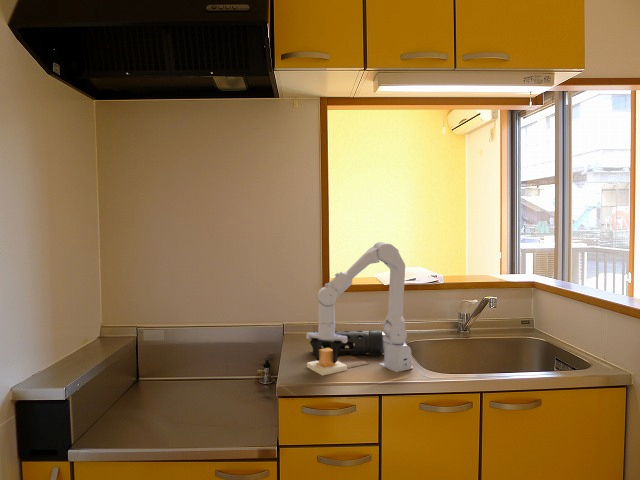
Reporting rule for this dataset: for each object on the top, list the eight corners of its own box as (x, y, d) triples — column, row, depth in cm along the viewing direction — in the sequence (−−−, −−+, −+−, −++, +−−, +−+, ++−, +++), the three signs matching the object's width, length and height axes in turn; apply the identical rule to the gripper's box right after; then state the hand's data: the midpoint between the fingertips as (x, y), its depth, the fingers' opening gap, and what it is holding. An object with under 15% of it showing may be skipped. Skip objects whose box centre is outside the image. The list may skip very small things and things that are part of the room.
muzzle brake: (313, 326, 180) (312, 334, 170) (384, 326, 179) (387, 333, 169) (314, 350, 181) (312, 359, 171) (384, 349, 180) (387, 358, 170)
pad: (369, 365, 162) (369, 363, 162) (348, 369, 158) (348, 367, 158) (349, 356, 173) (349, 354, 173) (330, 360, 168) (330, 358, 168)
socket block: (346, 371, 156) (346, 365, 156) (322, 376, 151) (322, 370, 151) (331, 363, 165) (331, 357, 164) (307, 368, 159) (307, 362, 159)
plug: (334, 369, 157) (334, 350, 157) (325, 371, 155) (324, 352, 155) (328, 365, 160) (328, 347, 160) (318, 367, 158) (318, 349, 158)
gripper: (350, 321, 158) (350, 360, 158) (312, 318, 163) (312, 355, 164) (343, 326, 151) (343, 366, 152) (303, 322, 157) (304, 361, 158)
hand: (326, 361), depth 158 cm, fingers closed on plug, 6 cm apart
